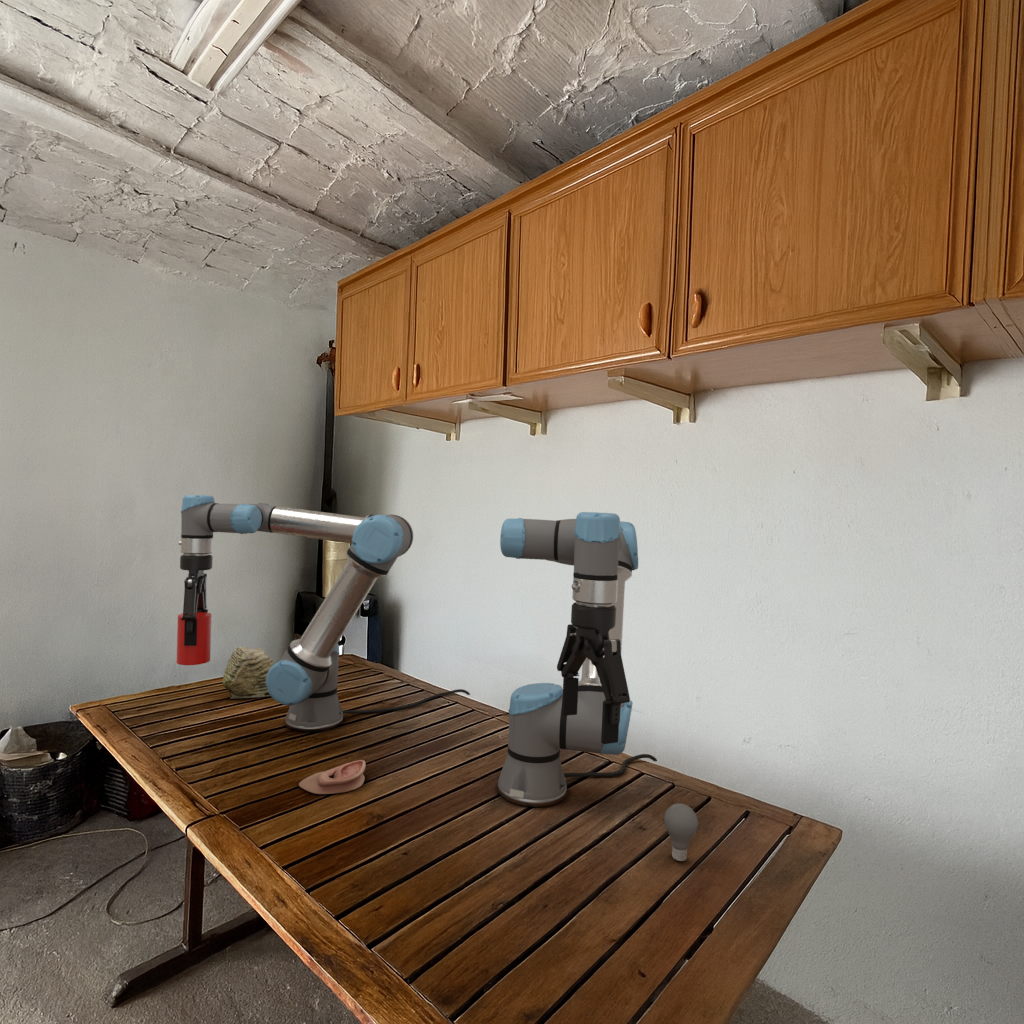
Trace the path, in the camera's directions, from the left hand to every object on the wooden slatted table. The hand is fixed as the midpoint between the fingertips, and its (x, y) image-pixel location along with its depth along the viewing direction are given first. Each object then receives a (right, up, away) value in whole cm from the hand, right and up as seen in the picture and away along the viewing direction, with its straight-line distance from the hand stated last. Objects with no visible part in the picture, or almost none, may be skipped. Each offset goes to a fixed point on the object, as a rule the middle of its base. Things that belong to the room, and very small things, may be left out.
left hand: (194, 641), depth 165 cm
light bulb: (+113, -30, -49) cm, 127 cm away
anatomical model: (+43, -26, -25) cm, 56 cm away
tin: (0, -5, 0) cm, 5 cm away
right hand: (+96, -3, -57) cm, 112 cm away
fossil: (+2, -24, +33) cm, 41 cm away
